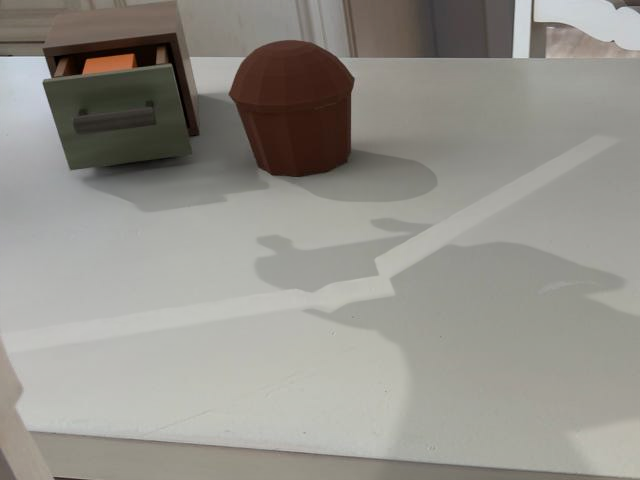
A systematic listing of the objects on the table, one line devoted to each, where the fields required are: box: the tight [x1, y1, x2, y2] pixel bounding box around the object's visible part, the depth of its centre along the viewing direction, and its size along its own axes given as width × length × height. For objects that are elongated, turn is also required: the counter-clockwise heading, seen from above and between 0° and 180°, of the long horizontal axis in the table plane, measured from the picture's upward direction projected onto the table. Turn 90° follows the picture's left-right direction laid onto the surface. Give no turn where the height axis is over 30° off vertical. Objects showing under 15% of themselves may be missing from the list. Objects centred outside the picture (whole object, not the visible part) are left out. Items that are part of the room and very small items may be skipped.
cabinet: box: [41, 0, 201, 137], centre depth 106 cm, size 16×13×10 cm
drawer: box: [41, 43, 193, 171], centre depth 97 cm, size 19×11×8 cm, turn 13°
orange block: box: [82, 54, 138, 74], centre depth 97 cm, size 5×6×6 cm
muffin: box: [227, 39, 356, 177], centre depth 93 cm, size 12×11×10 cm
